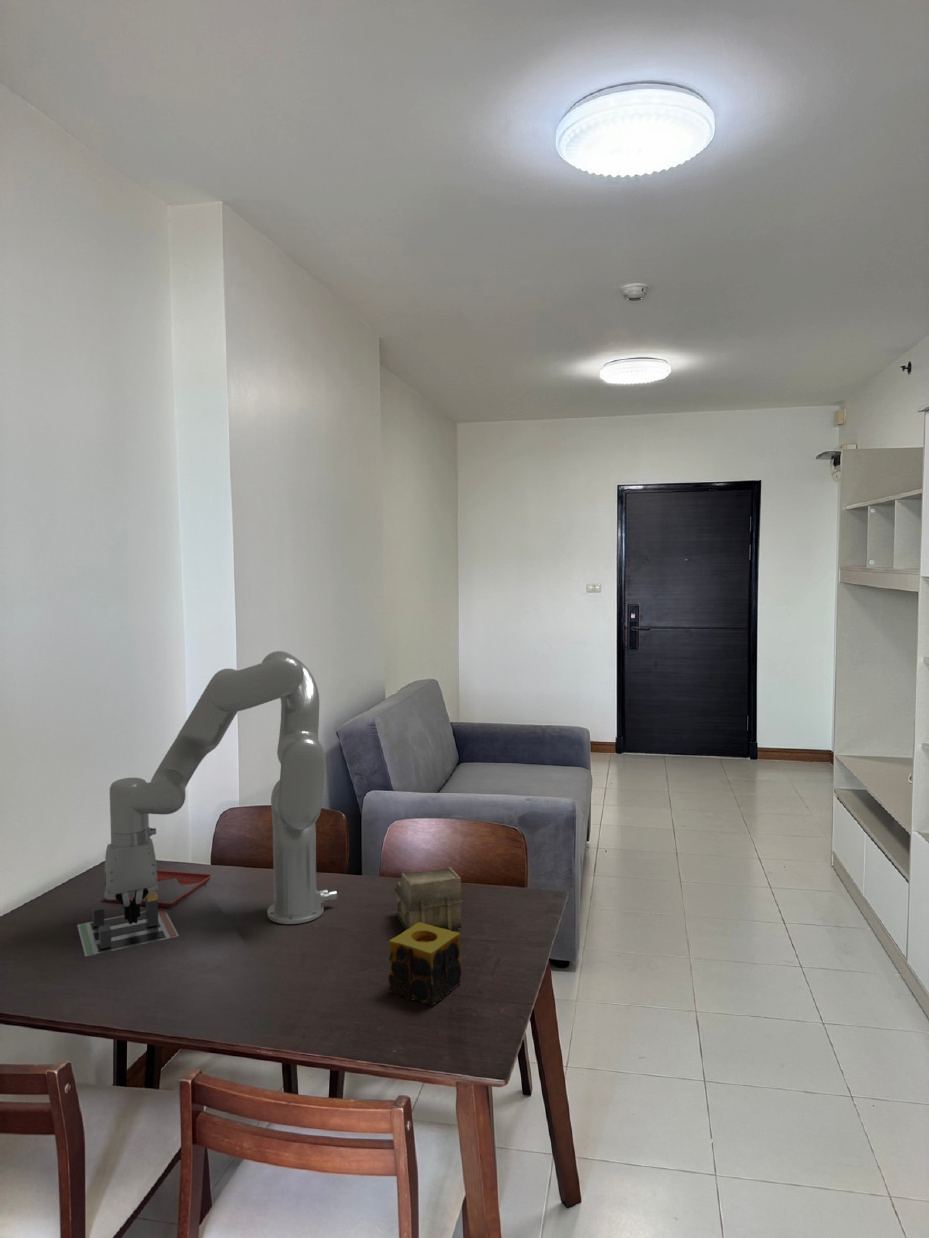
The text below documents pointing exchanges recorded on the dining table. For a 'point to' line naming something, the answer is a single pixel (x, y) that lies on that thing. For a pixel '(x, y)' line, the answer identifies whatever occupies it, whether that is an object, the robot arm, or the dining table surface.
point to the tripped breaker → (151, 909)
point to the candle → (424, 963)
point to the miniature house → (430, 899)
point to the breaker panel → (126, 932)
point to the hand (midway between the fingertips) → (132, 921)
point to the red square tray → (182, 878)
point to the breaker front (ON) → (105, 936)
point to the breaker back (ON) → (98, 915)
